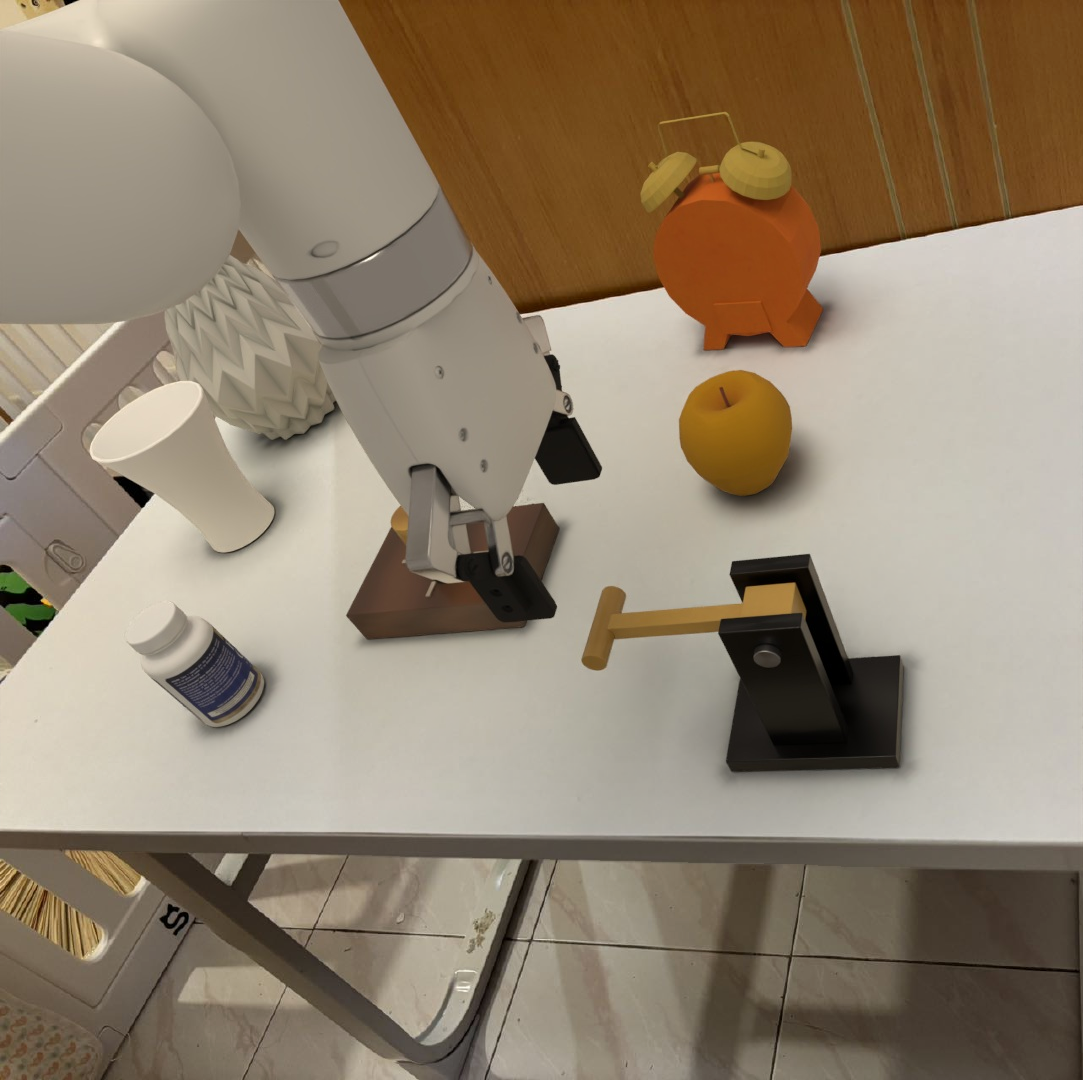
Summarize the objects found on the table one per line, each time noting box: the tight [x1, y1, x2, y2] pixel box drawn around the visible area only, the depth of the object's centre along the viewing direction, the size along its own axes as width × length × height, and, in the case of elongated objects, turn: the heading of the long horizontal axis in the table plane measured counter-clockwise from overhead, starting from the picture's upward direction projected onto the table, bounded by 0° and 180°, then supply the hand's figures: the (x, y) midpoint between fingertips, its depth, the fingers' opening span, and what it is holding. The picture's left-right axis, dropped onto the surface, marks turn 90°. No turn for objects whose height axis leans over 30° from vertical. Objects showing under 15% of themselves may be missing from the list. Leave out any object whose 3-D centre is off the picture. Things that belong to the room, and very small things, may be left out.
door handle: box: [581, 583, 806, 672], centre depth 56 cm, size 12×5×2 cm, turn 81°
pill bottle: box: [124, 600, 265, 728], centre depth 75 cm, size 5×5×10 cm
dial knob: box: [390, 505, 409, 545], centre depth 76 cm, size 4×4×5 cm
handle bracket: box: [717, 553, 905, 773], centre depth 57 cm, size 10×7×12 cm
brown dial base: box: [345, 502, 560, 640], centre depth 79 cm, size 14×10×3 cm
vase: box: [164, 254, 337, 441], centre depth 101 cm, size 16×16×18 cm
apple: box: [678, 369, 793, 497], centre depth 75 cm, size 8×8×9 cm
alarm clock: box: [639, 111, 824, 351], centre depth 85 cm, size 13×6×20 cm, turn 69°
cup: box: [89, 381, 276, 553], centre depth 91 cm, size 10×10×14 cm
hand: (554, 542), depth 53 cm, fingers open, 9 cm apart
